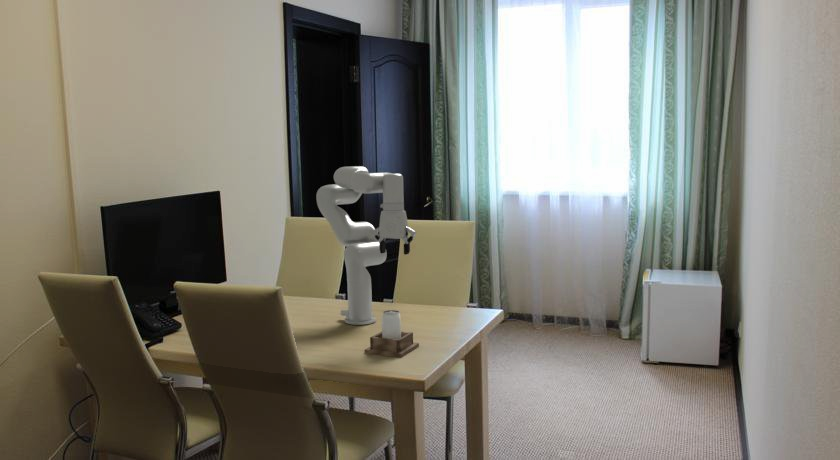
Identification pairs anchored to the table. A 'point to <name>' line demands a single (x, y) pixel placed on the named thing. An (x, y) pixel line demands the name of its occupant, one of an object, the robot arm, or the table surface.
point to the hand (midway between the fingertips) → (394, 253)
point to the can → (391, 324)
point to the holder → (392, 345)
